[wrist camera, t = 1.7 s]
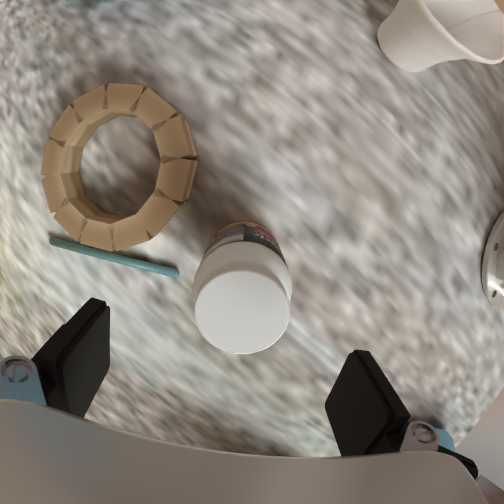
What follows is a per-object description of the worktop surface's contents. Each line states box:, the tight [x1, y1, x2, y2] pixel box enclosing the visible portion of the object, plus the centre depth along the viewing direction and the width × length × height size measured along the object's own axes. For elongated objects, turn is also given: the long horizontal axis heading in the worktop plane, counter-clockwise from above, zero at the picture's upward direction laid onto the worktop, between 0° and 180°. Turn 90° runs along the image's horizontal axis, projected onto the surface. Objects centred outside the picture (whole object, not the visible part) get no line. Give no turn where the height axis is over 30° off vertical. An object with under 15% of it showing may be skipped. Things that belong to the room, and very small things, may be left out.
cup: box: [377, 0, 504, 73], centre depth 14 cm, size 9×9×10 cm
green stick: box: [49, 237, 179, 277], centre depth 23 cm, size 13×1×1 cm, turn 76°
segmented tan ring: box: [41, 83, 198, 252], centre depth 20 cm, size 12×12×3 cm
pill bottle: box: [194, 222, 292, 354], centre depth 19 cm, size 6×6×10 cm
